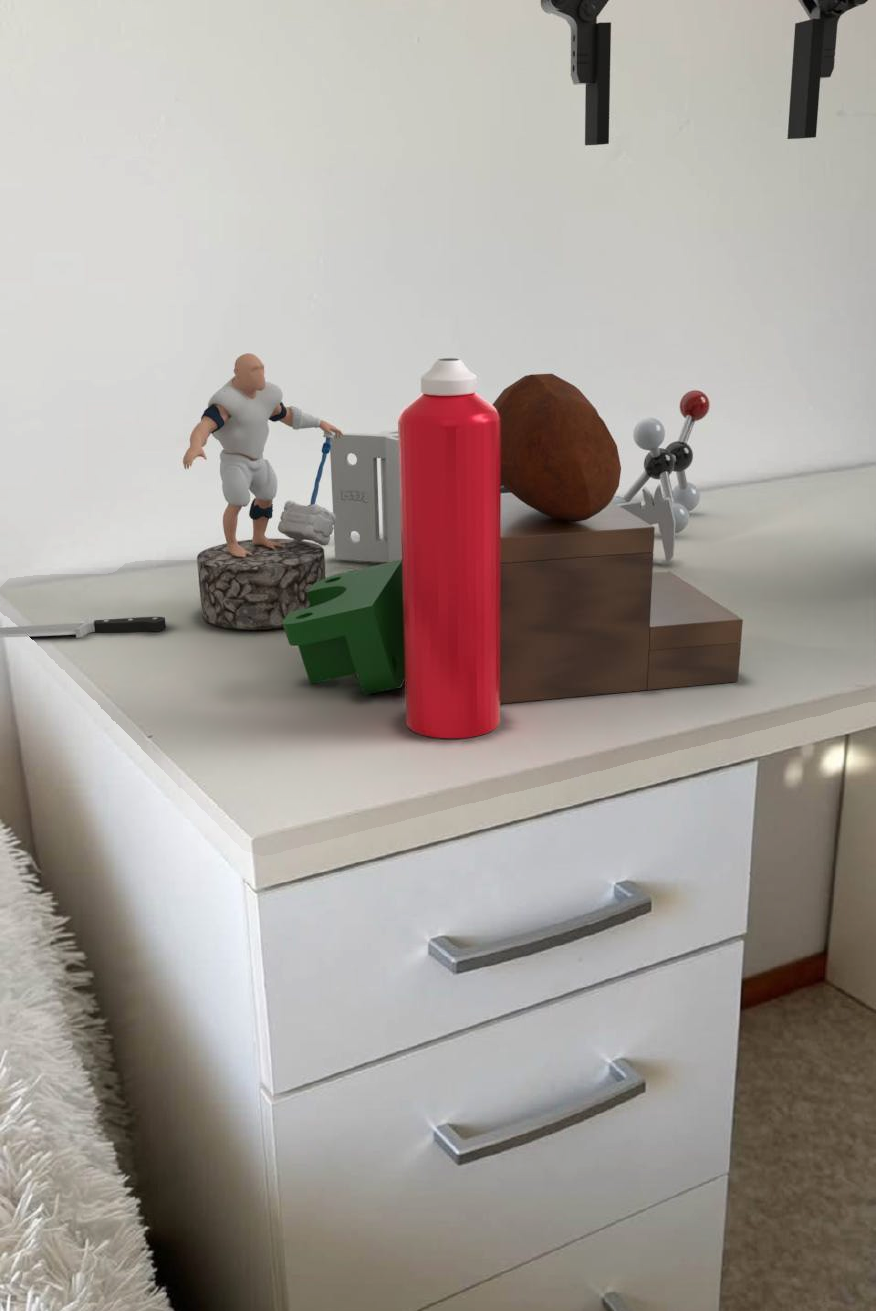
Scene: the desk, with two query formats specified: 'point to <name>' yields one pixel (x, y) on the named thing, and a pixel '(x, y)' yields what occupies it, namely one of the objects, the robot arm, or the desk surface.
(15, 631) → the knife
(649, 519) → the caliper
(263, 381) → the figurine
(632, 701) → the desk surface
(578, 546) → the step shelf
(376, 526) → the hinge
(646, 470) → the molecular model
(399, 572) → the clamp
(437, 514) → the bottle
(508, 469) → the potato
